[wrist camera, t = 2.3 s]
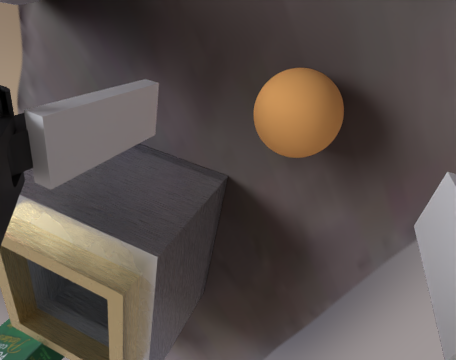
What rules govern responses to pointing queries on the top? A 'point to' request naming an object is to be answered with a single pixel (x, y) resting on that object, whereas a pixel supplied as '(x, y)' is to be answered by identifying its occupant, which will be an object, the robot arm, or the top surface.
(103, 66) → the top surface
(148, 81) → the robot arm
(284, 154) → the bead
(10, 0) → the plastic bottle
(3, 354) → the coffee box
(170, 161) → the metal box
